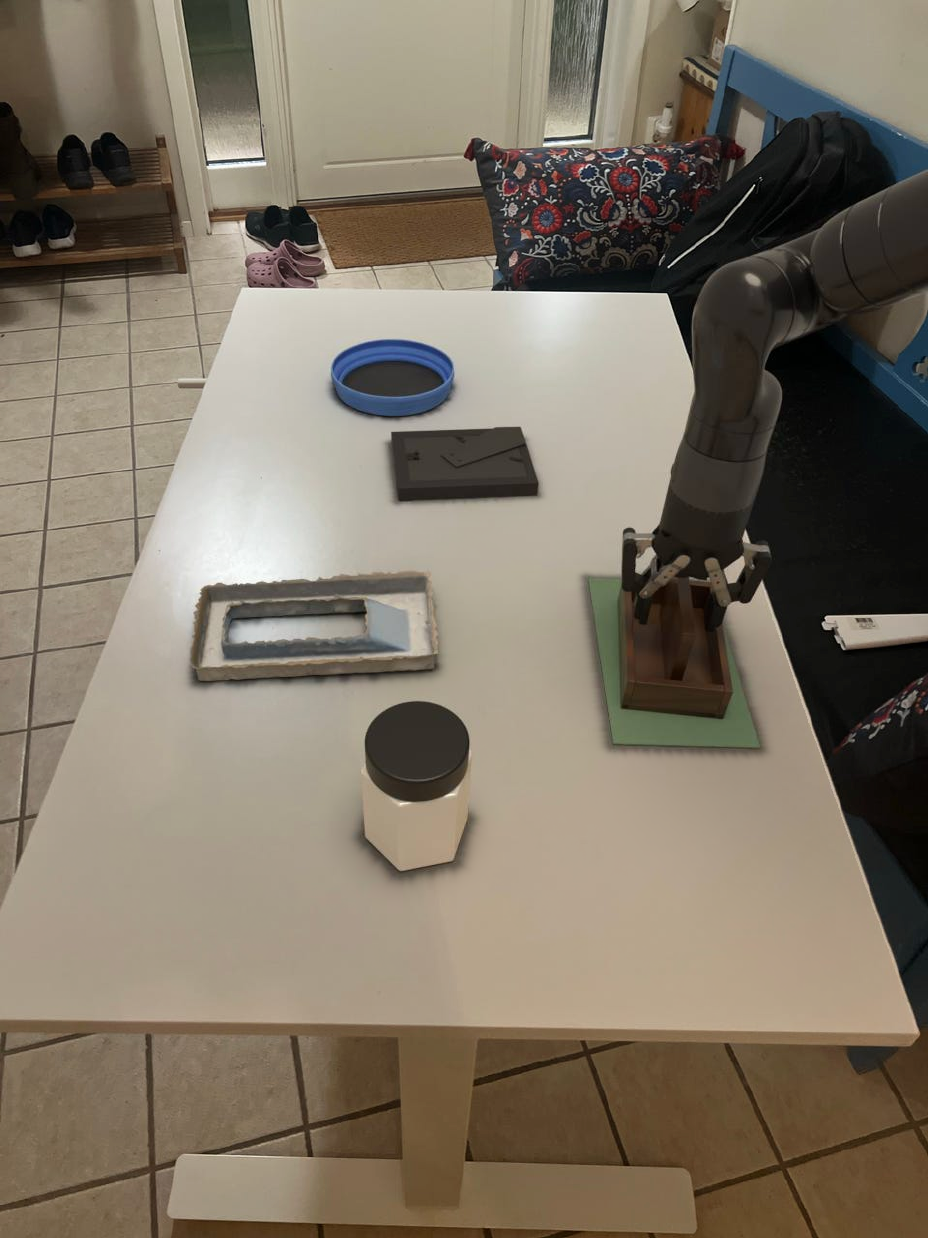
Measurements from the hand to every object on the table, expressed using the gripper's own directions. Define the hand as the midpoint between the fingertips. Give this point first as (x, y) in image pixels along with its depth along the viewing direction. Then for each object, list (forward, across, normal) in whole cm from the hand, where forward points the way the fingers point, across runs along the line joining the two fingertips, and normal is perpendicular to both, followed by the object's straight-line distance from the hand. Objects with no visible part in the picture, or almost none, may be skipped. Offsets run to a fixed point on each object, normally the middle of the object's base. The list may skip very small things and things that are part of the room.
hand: (675, 622), depth 89 cm
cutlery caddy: (+5, 0, 0) cm, 5 cm away
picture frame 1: (+5, -37, -2) cm, 37 cm away
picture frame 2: (+5, -25, +31) cm, 40 cm away
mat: (+5, 0, 0) cm, 5 cm away
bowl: (+5, -37, +51) cm, 63 cm away
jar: (+5, -23, -24) cm, 34 cm away
